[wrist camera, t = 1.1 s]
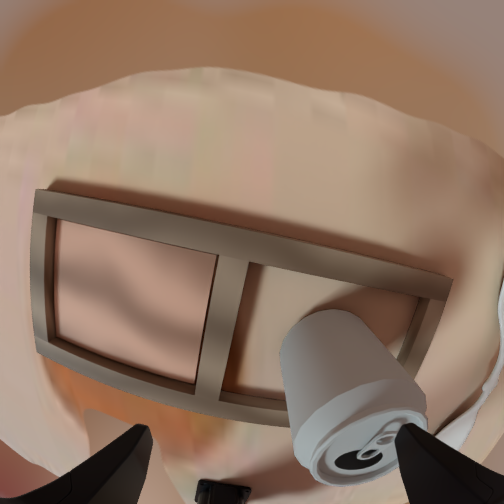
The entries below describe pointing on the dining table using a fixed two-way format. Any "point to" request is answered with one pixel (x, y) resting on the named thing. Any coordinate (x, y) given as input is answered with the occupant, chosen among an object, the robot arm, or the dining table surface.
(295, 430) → the can
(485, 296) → the dining table surface
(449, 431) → the spoon
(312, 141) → the dining table surface
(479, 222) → the dining table surface
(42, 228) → the ladder rack
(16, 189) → the dining table surface
